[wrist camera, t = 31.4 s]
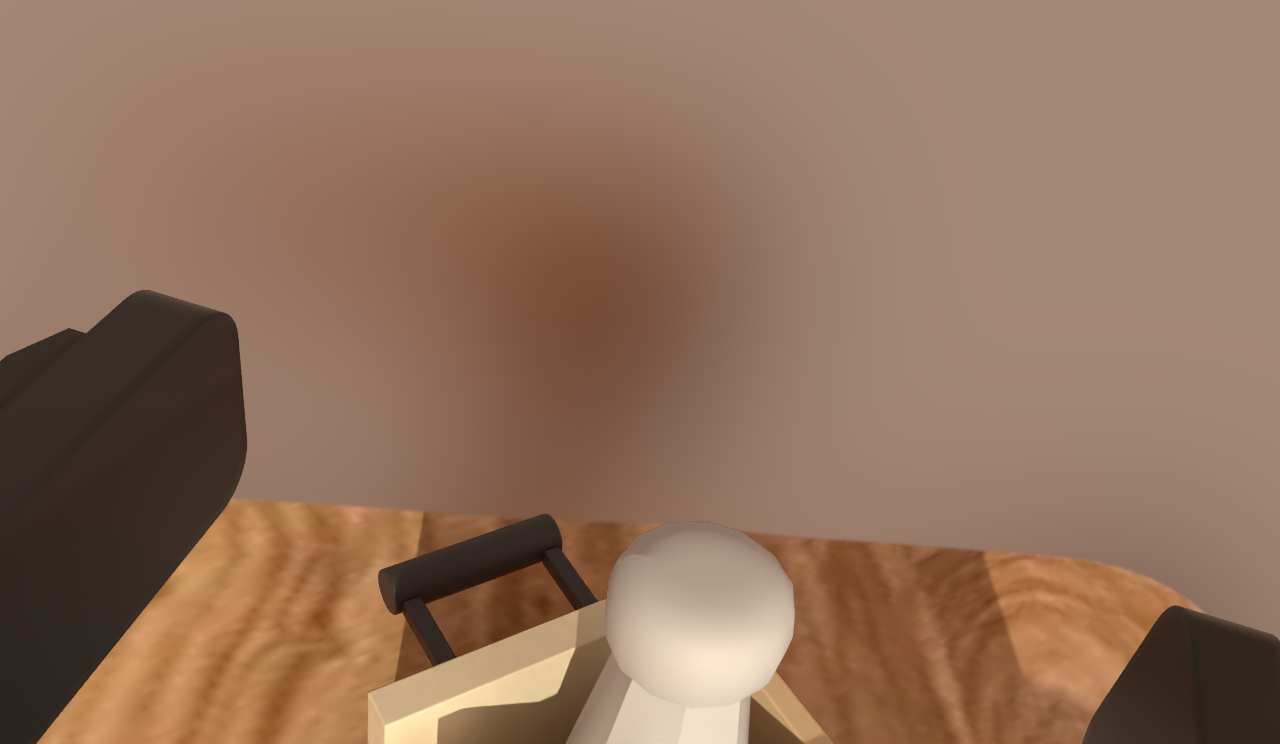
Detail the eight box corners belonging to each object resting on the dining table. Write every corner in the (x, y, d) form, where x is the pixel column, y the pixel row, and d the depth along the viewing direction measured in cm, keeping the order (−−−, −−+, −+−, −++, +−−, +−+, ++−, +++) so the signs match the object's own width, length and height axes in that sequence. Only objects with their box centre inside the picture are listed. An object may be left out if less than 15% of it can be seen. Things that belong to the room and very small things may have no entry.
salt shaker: (653, 750, 37) (732, 449, 29) (768, 902, 34) (894, 611, 26) (491, 838, 34) (530, 530, 26) (600, 1016, 31) (684, 725, 23)
